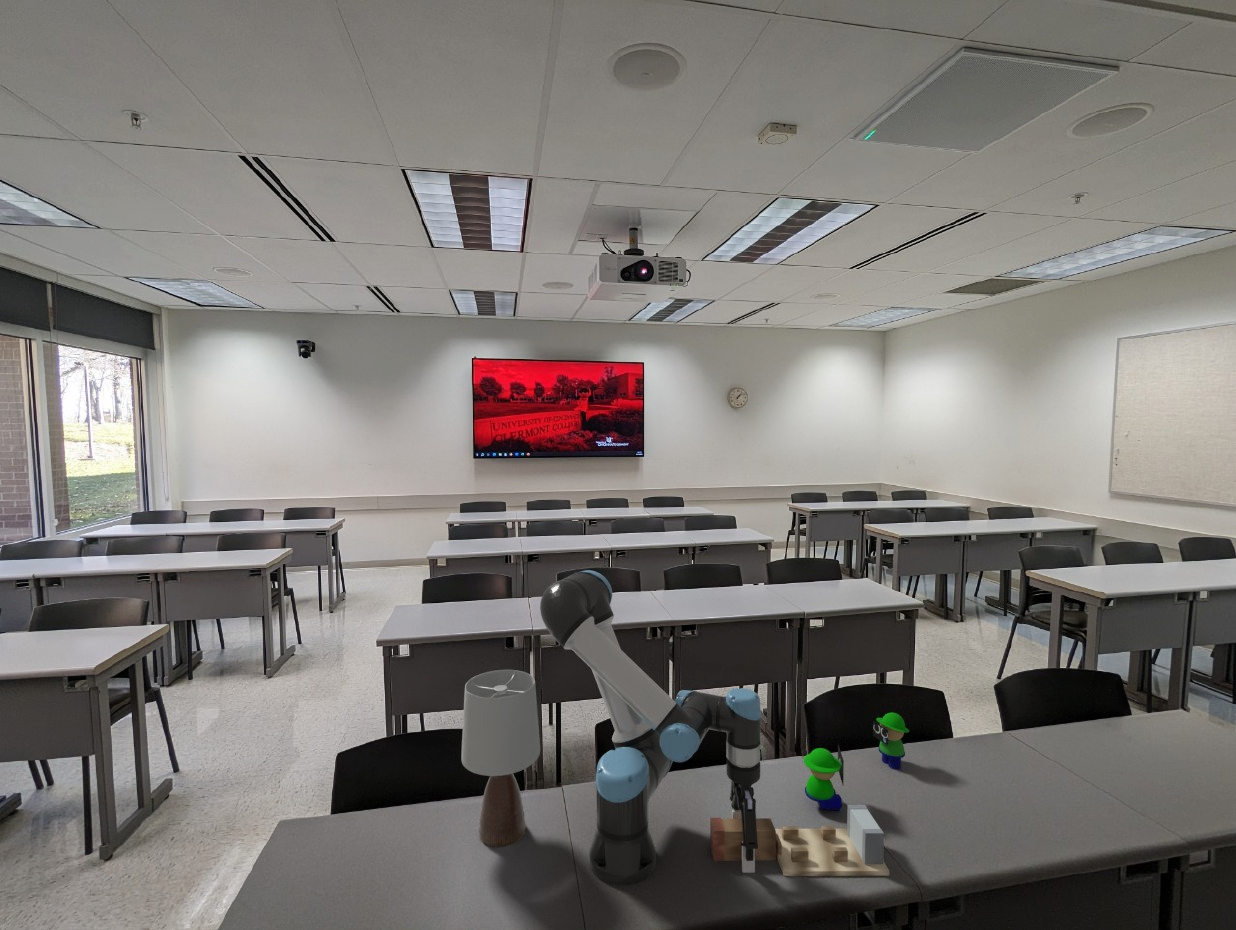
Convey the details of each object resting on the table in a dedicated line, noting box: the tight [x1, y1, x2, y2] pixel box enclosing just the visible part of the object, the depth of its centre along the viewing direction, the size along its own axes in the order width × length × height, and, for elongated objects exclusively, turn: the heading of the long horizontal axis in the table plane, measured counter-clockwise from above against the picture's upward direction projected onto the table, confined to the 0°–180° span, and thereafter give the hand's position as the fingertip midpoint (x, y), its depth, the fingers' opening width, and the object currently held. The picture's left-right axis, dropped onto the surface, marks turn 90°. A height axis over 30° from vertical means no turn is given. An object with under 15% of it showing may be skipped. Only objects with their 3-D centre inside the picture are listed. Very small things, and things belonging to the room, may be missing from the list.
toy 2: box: [872, 712, 910, 770], centre depth 173 cm, size 9×9×15 cm
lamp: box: [460, 669, 541, 848], centre depth 143 cm, size 19×19×37 cm
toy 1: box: [803, 744, 845, 811], centre depth 154 cm, size 11×9×15 cm
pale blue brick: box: [846, 804, 885, 864], centre depth 136 cm, size 4×10×7 cm, turn 0°
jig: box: [775, 825, 890, 877], centre depth 136 cm, size 23×14×4 cm, turn 90°
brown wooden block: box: [709, 817, 777, 862], centre depth 136 cm, size 14×5×7 cm, turn 90°
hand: (742, 853), depth 136 cm, fingers open, 10 cm apart
